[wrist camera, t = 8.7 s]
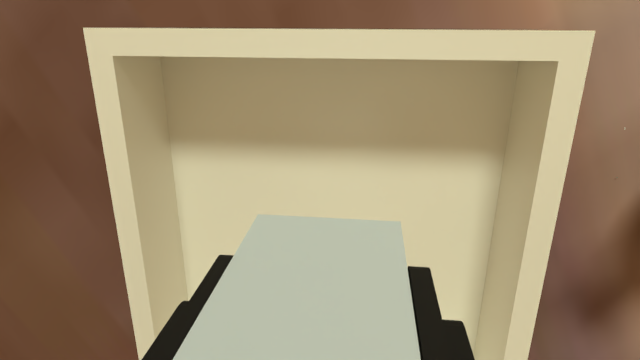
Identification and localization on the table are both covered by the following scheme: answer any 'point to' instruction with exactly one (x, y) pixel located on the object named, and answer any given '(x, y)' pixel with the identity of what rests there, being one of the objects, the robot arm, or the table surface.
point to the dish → (342, 153)
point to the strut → (310, 295)
